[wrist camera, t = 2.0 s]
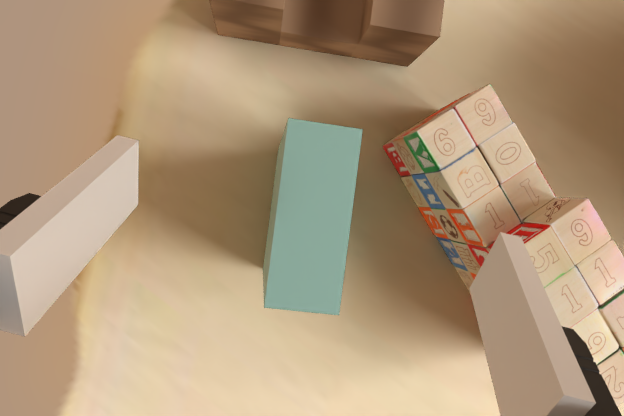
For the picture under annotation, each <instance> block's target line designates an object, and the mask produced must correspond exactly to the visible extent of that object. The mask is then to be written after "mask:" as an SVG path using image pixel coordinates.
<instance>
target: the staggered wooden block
mask: <svg viewBox="0 0 624 416" xmlns="http://www.w3.org/2000/svg"><path fill="white" fill-rule="evenodd" d="M209 1H210V5H211V9H212V13H213V17H214V21H215V24H216V28H217V32H218V35H223V36H229V37H235V38H241V39H247V40H253V41H259V42H264V43H270V44H276V45H282V46H288V47H294V48H300V49H306V50H312V51H318V52H324V53H330V54H336V55H342V56H348V57H354V58H360V59H366V60H372V61H378V62H384V63H390V64H396V65H402V66H409V65H410V64H411V63H412V62H413V61H414V60H415V59H416V58H417V57H418V56H420V55H421V54H422V53H423V52H424V51H425V50H426V49H427V48H428V47H429V46H430V45H431V44H433V43H434V42H435V41H436V40H437V39H438V38H439V37H440V30H441V22H442V14H443V7H444V0H209Z"/></svg>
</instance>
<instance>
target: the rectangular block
mask: <svg viewBox="0 0 624 416" xmlns="http://www.w3.org/2000/svg"><path fill="white" fill-rule="evenodd" d="M362 131H363V129H358V128H351V127H345V126H338V125H331V124H325V123H318V122H311V121H304V120H298V119H291V118H288V121H287V124H286V127H285V130H284V133H283V136H282V139H281V142H280V145H279V148H278V155H277V163H276V171H275V179H274V186H273V194H272V202H271V210H270V218H269V225H268V233H267V241H266V249H265V257H264V265H263V286H264V308H273V309H283V310H293V311H303V312H312V313H322V314H332V315H339V312H340V304H341V296H342V288H343V280H344V273H345V265H346V257H347V249H348V241H349V233H350V226H351V218H352V210H353V202H354V194H355V186H356V178H357V171H358V163H359V155H360V147H361V139H362Z"/></svg>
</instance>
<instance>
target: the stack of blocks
mask: <svg viewBox="0 0 624 416" xmlns="http://www.w3.org/2000/svg"><path fill="white" fill-rule="evenodd" d="M382 147H383V149H384V150H385V152H386V153H387V155H388V157H389V158H390V160H391V161H392V163H393V165H394V166H395V168H396V170H397V171H398V173H399V175H401V180H402V182H403V183H404V185H405V187H406V188H407V190H408V192H409V193H410V195H411V197H412V198H413V200H414V202H415V203H416V205H417V206H418V208H419V210H420V212H421V214H422V215H423V217H424V219H425V221H426V222H427V224H428V226H429V227H430V229H431V231H432V232H433V234H434V235H435V236H436V237H437V239H438V241H439V243H440V244H441V246H442V248H443V249H444V251H445V253H446V254H447V256H448V258H449V259H450V261H451V263H452V264H453V265H454V267H455V269H456V271H457V272H458V274H459V276H460V278H461V279H462V281H463V283H464V284H465V286H466V288H467V289H468V291H469V292H470V289H469V288H470V286H471V284H472V283H473V281H474V279H475V277H476V275H477V274H478V272H479V270H480V268H481V266H482V264H483V263H484V261H485V259H486V257H487V255H488V253H489V252H490V250H491V248H492V246H493V244H494V243H495V241H496V239H497V237H498V235H499V233H500V232H502V233H506V234H510V235H514V236H518V237H521V238H522V240H523V242H524V245H525V247H526V249H527V251H528V253H529V256H530V258H531V260H532V262H533V265H534V267H535V269H536V271H537V273H538V276H539V278H540V280H541V282H542V284H543V287H544V289H545V291H546V293H547V296H548V298H549V300H550V302H551V304H552V307H553V309H554V311H555V313H556V315H557V318H558V320H559V322H560V324H561V326H563V327H567V328H571V329H574V331H575V332H576V333H577V334H578V335H579V336H580V337H581V339H582V340H583V341H584V342H585V343H586V344H587V346H588V348H589V350H590V352H591V354H592V357H593V359H594V360H593V362H595V363H596V365H597V367H598V369H599V371H600V372H599V374H601V375H602V377H603V379H604V381H605V383H606V385H607V387H608V389H609V391H610V393H611V395H612V397H613V399H614V401H615V403H616V405H617V407H618V406H620V405H621V404H622V403H624V256H623V254H622V252H621V251H620V249H619V247H618V246H617V244H616V243H615V241H614V240H612V239H611V235H610V233H609V232H608V230H607V228H606V227H605V225H604V223H603V222H602V220H601V218H600V217H599V215H598V213H597V212H596V210H595V208H594V207H593V205H592V204H591V202H590V200H589V199H588V198H556V196H555V194H554V192H553V191H552V189H551V187H550V185H549V184H548V182H547V180H546V179H545V177H544V175H543V173H542V172H541V170H540V168H539V166H538V165H537V163H536V162H535V161H536V159H535V157H534V155H533V154H532V152H531V150H530V148H529V147H528V145H527V143H526V142H525V140H524V138H523V136H522V135H521V133H520V131H519V129H518V128H517V126H516V124H515V123H514V122H512V120H511V118H510V116H509V115H508V113H507V111H506V109H505V108H504V106H503V104H502V102H501V100H500V99H499V97H498V96H497V94H496V92H495V90H494V89H493V87H492V85H491V84H489V85H487V86H485V87H482V88H480V89H478V90H476V91H474V92H472V93H470V94H467V95H465V96H463V97H461V98H459V99H458V100H456V101H454V102H452V103H451V104H449V105H447V106H445V107H443V108H442V109H440V110H438V111H436V112H435V113H433V114H432V115H430V116H429V117H427V118H425V119H424V120H422V121H421V122H419V123H417V124H416V125H414V126H413V127H411V128H409V129H407V130H406V131H404V132H403V133H401V134H399V135H398V136H396V137H395V138H393V139H392V140H390V141H389V142H387V143H386V144H384V145H383V146H382ZM470 294H471V293H470Z"/></svg>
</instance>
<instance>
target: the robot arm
mask: <svg viewBox="0 0 624 416" xmlns="http://www.w3.org/2000/svg"><path fill="white" fill-rule="evenodd" d="M138 170H139V140H135V139H131V138H127V137H123V136H119V135H117V136H116V137H114V138H113V139H112V140H111V141H109V142H108V143H107V144H106V145H104V146H103V147H102V148H101V149H100V150H98V151H97V152H96V153H95V154H93V155H92V156H91V157H90V158H88V159H87V160H86V161H85V162H83V163H82V164H81V165H80V166H79V167H77V168H76V169H75V170H73V171H72V172H71V173H70V174H69V175H67V176H66V177H65V178H64V179H62V180H61V181H60V182H59V183H57V184H56V185H55V186H54V187H52V188H51V189H50V190H49V191H47V192H46V193H45V194H44V195H42V196H38V195H34V194H30V193H29V194H26V195H24V196H21V197H18V198H16V199H13V200H11V201H9V202H8V203H7V204H5V205H4V206H3V207H1V208H0V331H5V332H9V333H13V334H17V335H21V336H26V335H27V334H28V333H29V331H30V330H31V329H32V328H33V327H34V326H35V324H36V323H37V322H38V321H39V320H40V319H41V318H42V316H43V315H44V314H45V313H46V312H47V311H48V309H49V308H50V307H51V306H52V305H53V304H54V302H55V301H56V300H57V299H58V298H59V297H60V295H61V294H62V293H63V292H64V291H65V290H66V288H67V287H68V286H69V285H70V284H71V283H72V281H73V280H74V279H75V278H76V277H77V276H78V274H79V273H80V272H81V271H82V270H83V269H84V267H85V266H86V265H87V264H88V263H89V262H90V260H91V259H92V258H93V257H94V256H95V255H96V253H97V252H98V251H99V250H100V249H101V248H102V246H103V245H104V244H105V243H106V242H107V241H108V239H109V238H110V237H111V236H112V235H113V234H114V232H115V231H116V230H117V229H118V228H119V227H120V225H121V224H122V223H123V222H124V221H125V220H126V218H127V217H128V216H129V215H130V214H131V213H132V211H133V210H134V209H135V208H136V207H137V206H138ZM469 289H470V293H471V297H472V301H473V305H474V309H475V313H476V317H477V321H478V326H479V330H480V334H481V338H482V342H483V346H484V350H485V354H486V358H487V362H488V366H489V370H490V374H491V378H492V382H493V386H494V390H495V395H496V399H497V403H498V407H499V411H500V415H501V416H622V415H621V413H620V411H619V409H618V407H617V405H616V403H615V401H614V399H613V397H612V395H611V393H610V391H609V389H608V387H607V385H606V383H605V381H604V379H603V377H602V375H601V374H599V372H600V371H599V369H598V367H597V365H596V363H595V362H593V360H594V359H593V357H592V354H591V352H590V350H589V348H588V346H587V344H586V343H585V342H584V341H583V340H582V339H581V337H580V336H579V335H578V334H577V333H576V332H575V331H574V329H571V328H567V327H563V326H561V324H560V322H559V320H558V318H557V315H556V313H555V311H554V309H553V307H552V304H551V302H550V300H549V298H548V296H547V293H546V291H545V289H544V287H543V284H542V282H541V280H540V278H539V276H538V273H537V271H536V269H535V267H534V265H533V262H532V260H531V258H530V256H529V253H528V251H527V249H526V247H525V245H524V242H523V240H522V238H521V237H518V236H514V235H510V234H506V233H502V232H500V233H499V235H498V237H497V239H496V241H495V243H494V244H493V246H492V248H491V250H490V252H489V253H488V255H487V257H486V259H485V261H484V263H483V264H482V266H481V268H480V270H479V272H478V274H477V275H476V277H475V279H474V281H473V283H472V284H471V286H470V288H469Z"/></svg>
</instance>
